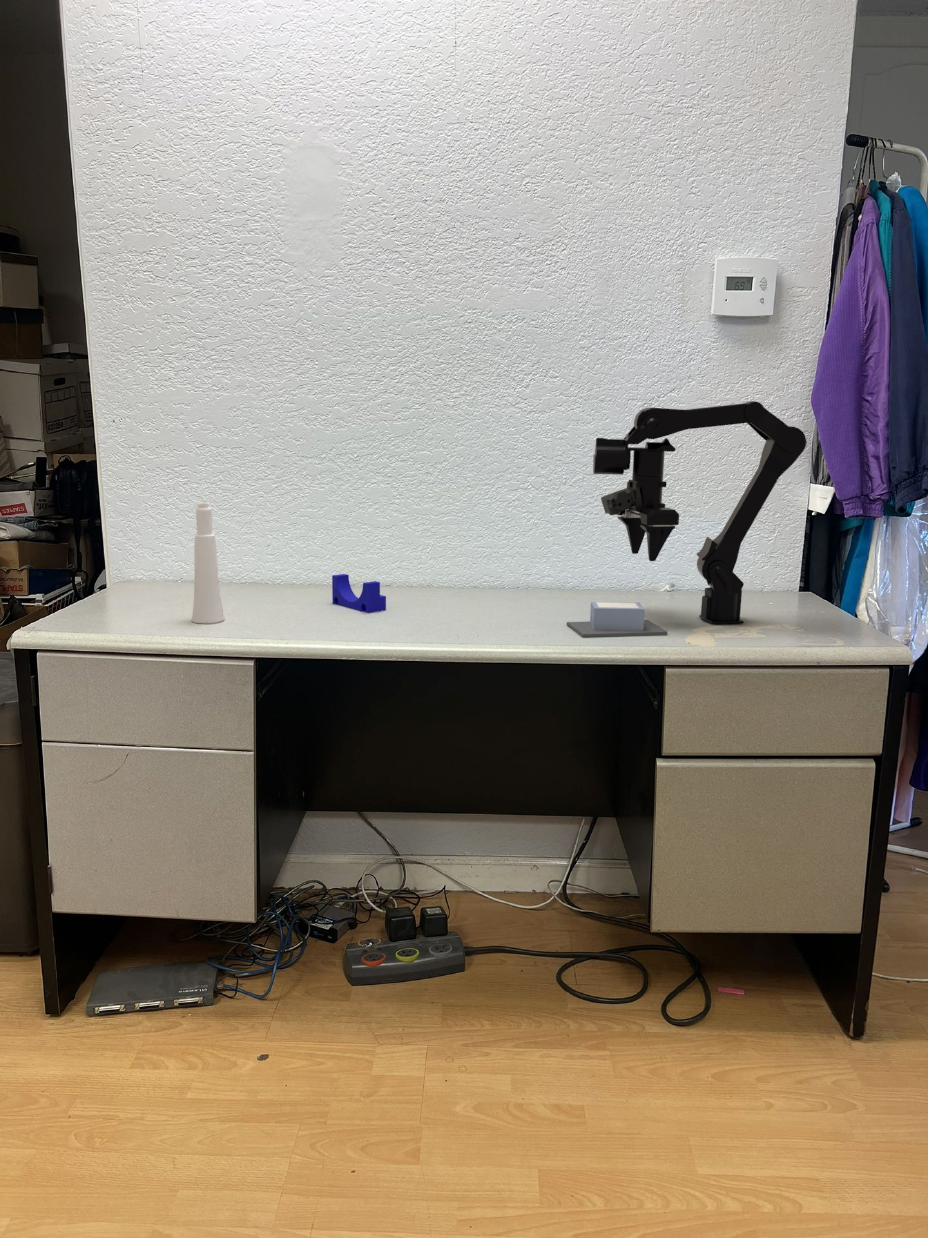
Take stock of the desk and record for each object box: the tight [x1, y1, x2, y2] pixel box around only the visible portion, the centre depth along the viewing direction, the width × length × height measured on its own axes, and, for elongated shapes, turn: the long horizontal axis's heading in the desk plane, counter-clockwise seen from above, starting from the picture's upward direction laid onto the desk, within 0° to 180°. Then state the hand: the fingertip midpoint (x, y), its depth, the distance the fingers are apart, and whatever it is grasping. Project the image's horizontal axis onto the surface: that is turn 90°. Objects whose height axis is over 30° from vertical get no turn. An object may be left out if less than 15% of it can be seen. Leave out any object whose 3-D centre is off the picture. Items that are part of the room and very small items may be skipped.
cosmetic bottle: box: [191, 501, 226, 625], centre depth 184 cm, size 6×6×22 cm
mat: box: [566, 619, 669, 638], centre depth 184 cm, size 16×10×1 cm, turn 101°
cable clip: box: [331, 573, 387, 614], centre depth 200 cm, size 12×4×6 cm, turn 42°
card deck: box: [589, 601, 645, 631], centre depth 183 cm, size 6×9×4 cm, turn 89°
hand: (643, 557), depth 191 cm, fingers open, 9 cm apart
